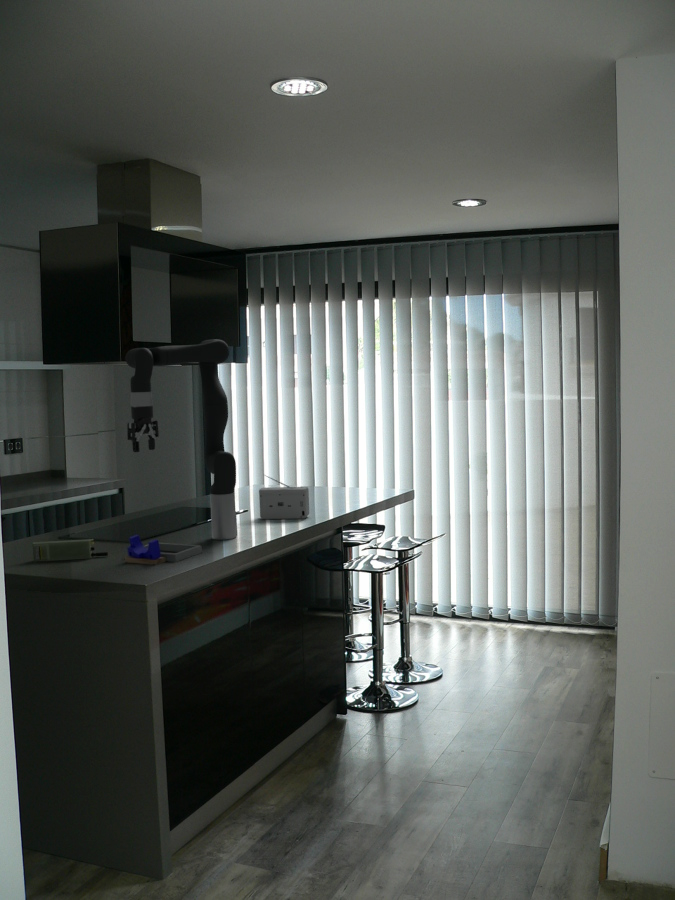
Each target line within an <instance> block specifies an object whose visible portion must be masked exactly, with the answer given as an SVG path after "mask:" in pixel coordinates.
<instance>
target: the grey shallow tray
mask: <svg viewBox="0 0 675 900" xmlns="http://www.w3.org/2000/svg"><path fill="white" fill-rule="evenodd" d="M143 546H144V547H145V548H147V549H148V547H149V544H145V545H144V544H143ZM159 547H160V553H161V557H165V562H172V563H177V562H179V561H182V560H185V559H188V558H190V557H193V556H196V555H200V554H201V553H203V550H202V549H203V548H202V545H199V544H198V545H196V544H195V545H194V544H185V543H184V544H182V543H171V542H170V543H167V542H159ZM161 551H165V552H161ZM126 552H127V553H126V554H127V556H126V557H129V555H128V550H126ZM172 552H175V553H172Z"/></svg>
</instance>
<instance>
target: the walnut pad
mask: <svg viewBox="0 0 675 900" xmlns="http://www.w3.org/2000/svg"><path fill="white" fill-rule="evenodd" d="M124 562H125V563H130V564H132V563H133V564H143V565H153V564H157V565H159V563H160V564H162V562H163V563H164V562H166V561H165V557H160V558H157V559H155V560H152V559H149V558H145V557H142V558H140V559H139V558H135V557H131V556H129V557H127V556H126V557H124Z"/></svg>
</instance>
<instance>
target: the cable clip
mask: <svg viewBox="0 0 675 900" xmlns="http://www.w3.org/2000/svg"><path fill="white" fill-rule="evenodd" d="M128 539H129V544H130V545H129V546H128V547H126V548H127V550H126V551H128V555H129V556H131V557H135V558H139V559H140V558H142V557H145V558H149V559H152V560H155V559H157V558H160V557H161V553H162V552H161V550H160V547H159V543H160V542H159V539H154V540H151V541H148V544H149V547H148V549H147V548H145V547H144V544H143V543H142V541H141V538H140V535H138V534H135V535H133V536H130V537H129V538H128ZM148 544H147V545H148ZM160 552H161V553H160Z"/></svg>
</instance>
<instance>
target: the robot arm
mask: <svg viewBox="0 0 675 900" xmlns="http://www.w3.org/2000/svg"><path fill="white" fill-rule="evenodd" d="M229 356H230V347H229V345H228V343H226V342H225V341H224V340H222V339H217V338H216V339H215V338H213V339H205V340H203V341H201V342H200V343H199V344H189V345H188V344H187V345H186V344H185V345H184V344H183V345H164V346H163V345H161V346H155V347H136V348H132V349H130V350H128V351H127V352H126V354H125V358H124V359H125V362H126V364H127V366H129V367H130V368H132V369H134V375H133V376H131V377H130V380H129V381H130V382H129V383H130V413H131V414H130V416H131V419H133V422H127V423H126V425H127V435H126V436H127V440H128V441H131V442H132V452H133V453H139V452H140V441H139V440H140V438H141V437H142V436H143V435H145V436H146V438H148V440H147V441H148V443H147V444H148V450H150V451H154V450H156V441H155V440H156V438H159V436H160V434H159V432H160V431H159V426H158V425H159V423H158V420H157V419H155V420H152V419H153V418H154V404H153V394H152V383H151V380H152V375H153V369H154V367H167V366H177V365H183V364H188V363H189V364H191V363H198V366H199V371H200V373H199V374H200V378H201V380H200V381H201V388H202V391H201V392H202V406H203V418H204V430H205V431H204V432H205V454H204V455H205V456H204V458H205V461H204V462H205V467H206V469H207V471H208V472H209V473H210V474H212V475H213V483H212V484H211V485H210V486H209V497H210V499H209V501H210V518H211V520H210V521H211V538H212V539H213V540H220V541H221V540H233V539H235V538H237V536H238V525H237V522H238V519H237V511H236V501H235V500H236V498H235V488H236V485H237V465H236V459H235V457H234V455H233V454H232V453H231V452H228V451H225V444H224V443H225V442H224V437H225V431H226V427H227V424H228V420H229V404H228V397H227V394H226V392H225V390H224V387H223V385H222V384H221V381H220V378H219V374H218V373H219V372H218V365H221V364H223V363H225V361H227V360H228V359H229Z"/></svg>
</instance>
